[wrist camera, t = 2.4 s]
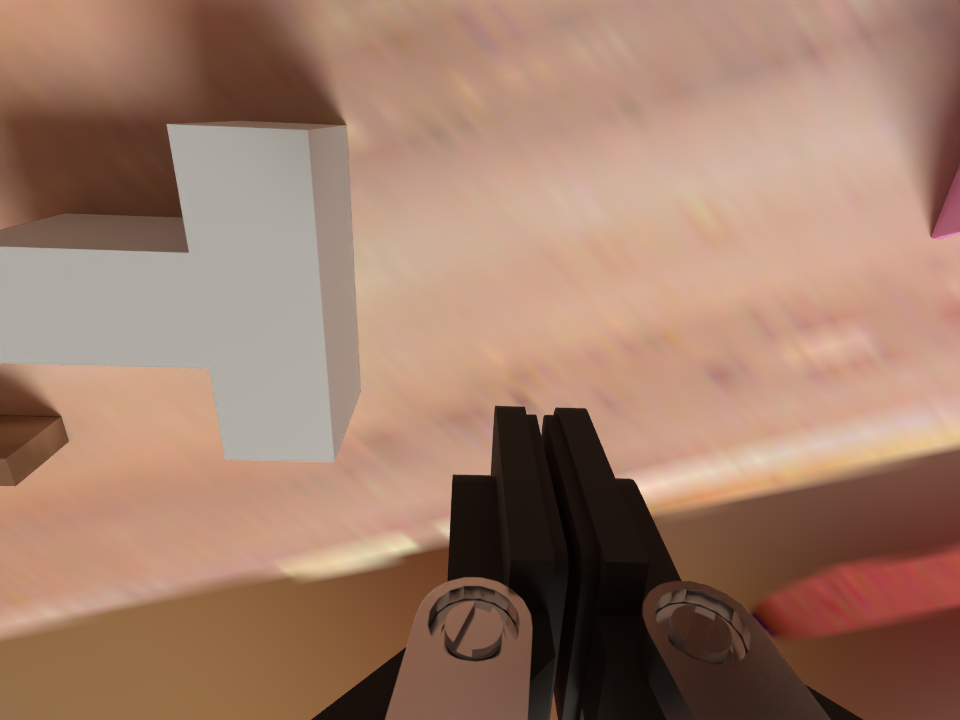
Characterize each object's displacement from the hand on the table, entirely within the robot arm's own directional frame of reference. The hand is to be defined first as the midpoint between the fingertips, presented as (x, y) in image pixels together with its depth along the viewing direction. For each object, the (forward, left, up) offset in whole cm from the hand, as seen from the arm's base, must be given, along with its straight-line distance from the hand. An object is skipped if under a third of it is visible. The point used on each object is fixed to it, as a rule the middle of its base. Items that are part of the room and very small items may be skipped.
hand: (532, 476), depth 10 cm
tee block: (-1, -10, -12) cm, 16 cm away
